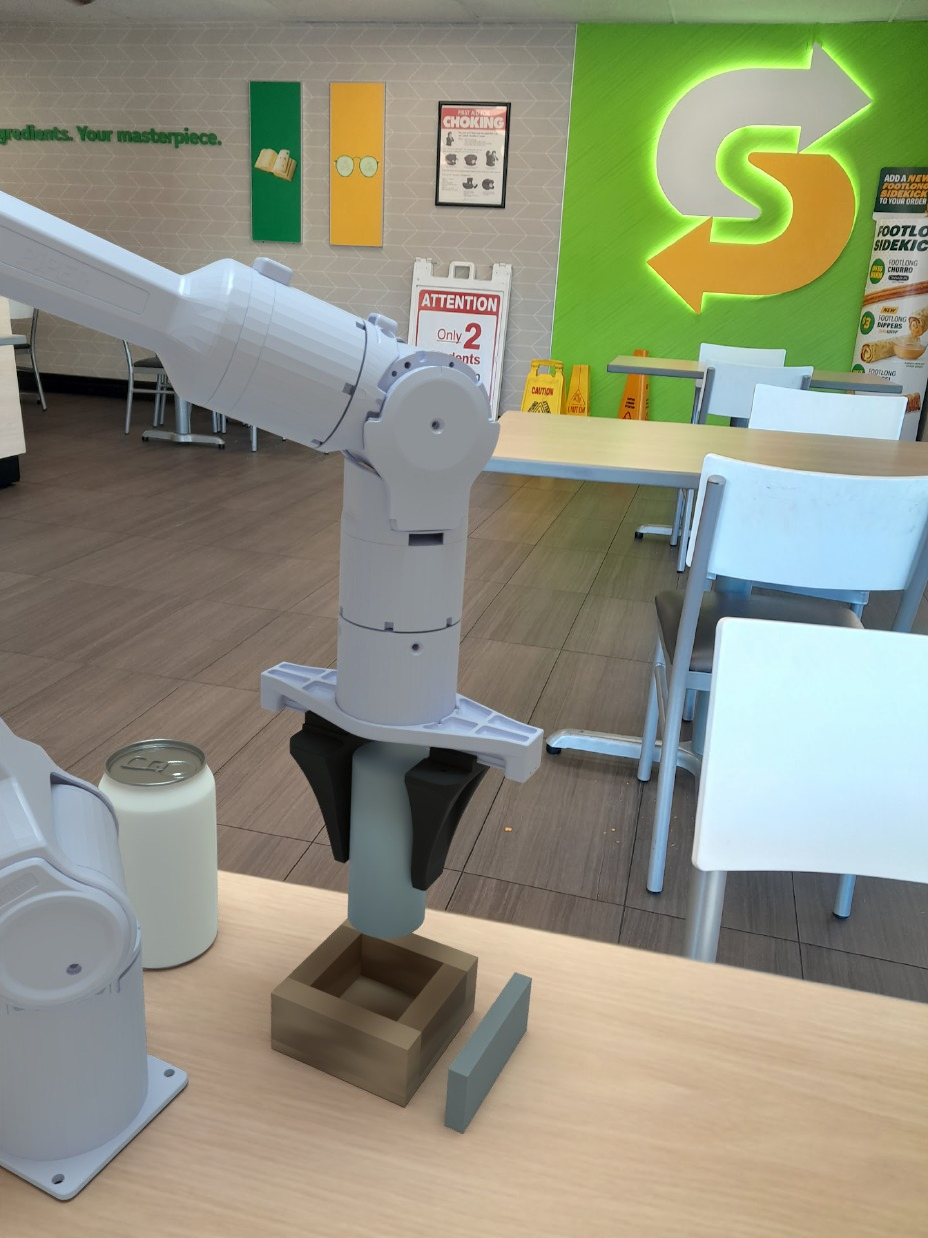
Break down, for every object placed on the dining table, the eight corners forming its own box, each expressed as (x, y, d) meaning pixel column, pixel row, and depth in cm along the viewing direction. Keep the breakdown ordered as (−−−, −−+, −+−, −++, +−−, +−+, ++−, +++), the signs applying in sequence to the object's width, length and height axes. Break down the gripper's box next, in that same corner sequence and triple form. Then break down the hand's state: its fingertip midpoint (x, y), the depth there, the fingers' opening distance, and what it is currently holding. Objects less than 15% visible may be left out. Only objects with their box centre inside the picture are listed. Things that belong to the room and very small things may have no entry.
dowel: (332, 922, 50) (336, 763, 47) (373, 883, 54) (379, 733, 51) (400, 948, 49) (409, 785, 46) (438, 906, 52) (448, 752, 49)
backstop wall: (444, 1126, 48) (448, 1069, 47) (509, 1024, 55) (514, 972, 54) (462, 1135, 47) (467, 1077, 46) (526, 1031, 54) (532, 978, 53)
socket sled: (271, 1048, 52) (271, 993, 51) (352, 961, 59) (354, 911, 58) (404, 1107, 49) (407, 1050, 48) (474, 1009, 56) (478, 957, 54)
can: (189, 983, 56) (182, 796, 52) (85, 962, 57) (71, 777, 53) (236, 916, 62) (233, 744, 58) (141, 899, 63) (132, 728, 60)
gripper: (576, 621, 46) (549, 871, 51) (318, 566, 52) (313, 794, 57) (517, 666, 40) (492, 946, 45) (232, 599, 46) (234, 852, 51)
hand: (388, 866), depth 50 cm, fingers closed on dowel, 4 cm apart
